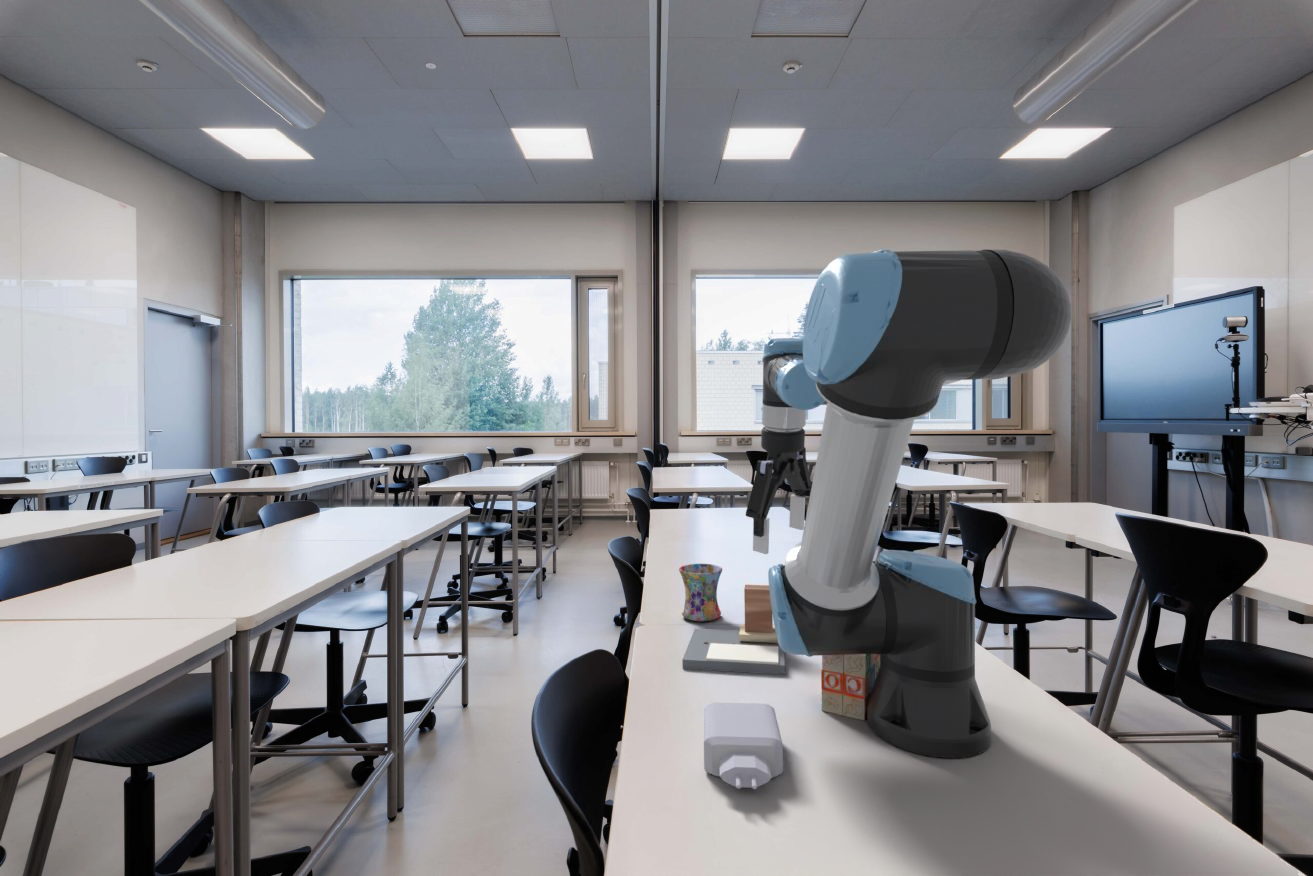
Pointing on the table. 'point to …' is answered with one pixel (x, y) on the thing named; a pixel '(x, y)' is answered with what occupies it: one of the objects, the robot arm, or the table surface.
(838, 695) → the stack of blocks
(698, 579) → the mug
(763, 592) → the stub
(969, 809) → the table surface
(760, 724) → the charger
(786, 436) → the robot arm
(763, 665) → the board
